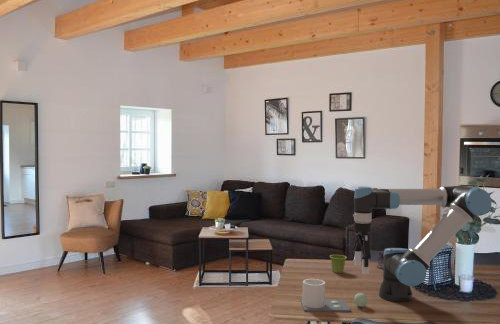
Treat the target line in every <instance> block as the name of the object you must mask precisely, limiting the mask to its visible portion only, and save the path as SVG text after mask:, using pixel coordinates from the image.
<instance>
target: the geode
mask: <svg viewBox="0 0 500 324" xmlns="http://www.w3.org/2000/svg"><path fill="white" fill-rule="evenodd" d="M383 255H384V253H382V252H379V253H378V258H377V264H376V268H377V269H379V270H383V268H384V256H383Z"/></svg>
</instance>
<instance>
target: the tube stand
mask: <svg viewBox="0 0 500 324" xmlns="http://www.w3.org/2000/svg"><path fill="white" fill-rule="evenodd" d="M300 303H301V306H302V310H303V311H304V312H334V313H335V312H336V313H337V312H338V313H339V312H345V313H348V312H349V313H350V312H351V307H349V305H348V304H347V301H346V300H345V299H326V281H324V280H323V279H317V278H307V279H304V280H302V298H300Z"/></svg>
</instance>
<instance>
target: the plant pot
mask: <svg viewBox="0 0 500 324" xmlns="http://www.w3.org/2000/svg"><path fill="white" fill-rule="evenodd" d="M329 258H330V262H331V271H332V272H333V273H335V274H343V273H344V270H345V264H346V260H347V258H348V257H347V255H343V254H330V255H329Z"/></svg>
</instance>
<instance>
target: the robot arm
mask: <svg viewBox="0 0 500 324" xmlns="http://www.w3.org/2000/svg"><path fill="white" fill-rule="evenodd" d="M353 196H354V197H353V203H354V207H353V209H354V210H353V213H354V214H352V217H353V221H354V222H353V231H354V232H355V237H354V243H353V244H354V245H353V249H354V266H355V267H361V274H362V275H369V274H370V260H371V259H372V256H371V247H370V235H368V234H367V233H370V232H371V231H372V214H373V213H372V212H373V211H372V210H375V209H377V210H379V209H383V210H387V209H388V210H393V209H398V208H399V206H403V205H404V206H439V207H441V208H449V210H448V211H447V212H446V213H445V214H444V215H443V216H442V217H441V219H439V220H438V222H437V223H436V224H435V225H434V226H433V227H432V228H431V229H430V230H429V232H428V233H427V234H426V235H425V236H424V237H423V238H422V239H421V240H420V241H419V242H418V244H417V245H416V246H415V247H411V248H401V247H387V248H384V250H383V251H384V252H383V254H384V255H383V256H384V268H383V269H382V270H383V275H382V276H383V277H382V282H381V284H380V287H379V290H378V296H379V297H380V298H382V299H384V300H386V301H387V300H388V301H391V302H398V303H399V302H401V303H403V302H411V301H412V300H413V291H412V288H411V287H415V286H419V285H421V284H422V283H423V282H424V281H425V279H426V277H427V271H429V269H430V267H431V261H432V260H433V259H434V258H435V257H436V256H437V255H439V254H438V253H440V252H441V251H442V249H443V248H444V247H445V246H446V245H447V244H448V243H449V242H450V241H451V239H453V237H454V236H455V235H456V234H457V233H458V232H459V231H460V230H461V229H462V228H464V226H465V225H466V224H467V223H473V222H474V221H475V219H476V218H477V217H478V216H479V217H481V216H484V215H486V214H488V213H489V212H490V210H491V208H492V197H491V195H490V194H489V192H487V190H485V189H483V188H481V187H479V186H478V187H477V186H475V187H474V186H469V185H464V184H463V185H461V184H460V185H453V186H440V187H439V188H377V187H371V186H357V187H355V189H354V195H353Z"/></svg>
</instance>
